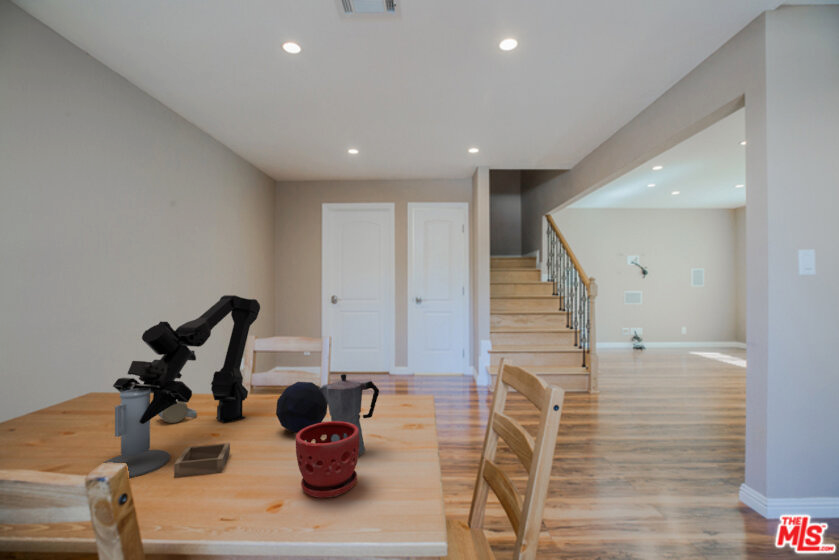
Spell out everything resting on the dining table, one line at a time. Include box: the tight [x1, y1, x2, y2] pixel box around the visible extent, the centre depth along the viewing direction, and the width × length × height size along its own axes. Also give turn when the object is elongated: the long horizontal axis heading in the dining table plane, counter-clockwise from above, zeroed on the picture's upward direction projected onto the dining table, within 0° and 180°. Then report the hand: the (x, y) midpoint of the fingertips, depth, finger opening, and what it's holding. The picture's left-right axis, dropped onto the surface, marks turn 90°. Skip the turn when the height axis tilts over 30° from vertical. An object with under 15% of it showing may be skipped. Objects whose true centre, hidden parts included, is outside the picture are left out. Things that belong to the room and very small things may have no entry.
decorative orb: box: [275, 381, 328, 434], centre depth 116 cm, size 14×15×15 cm
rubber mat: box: [103, 449, 171, 479], centre depth 93 cm, size 14×14×1 cm
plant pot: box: [295, 420, 359, 499], centre depth 83 cm, size 13×13×12 cm
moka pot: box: [319, 373, 380, 456], centre depth 101 cm, size 10×15×20 cm, turn 95°
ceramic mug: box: [158, 400, 198, 424], centre depth 125 cm, size 11×8×8 cm
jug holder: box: [173, 442, 231, 478], centre depth 93 cm, size 10×10×3 cm
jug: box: [114, 388, 152, 456], centre depth 92 cm, size 8×6×14 cm
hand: (130, 422), depth 92 cm, fingers closed on jug, 6 cm apart
